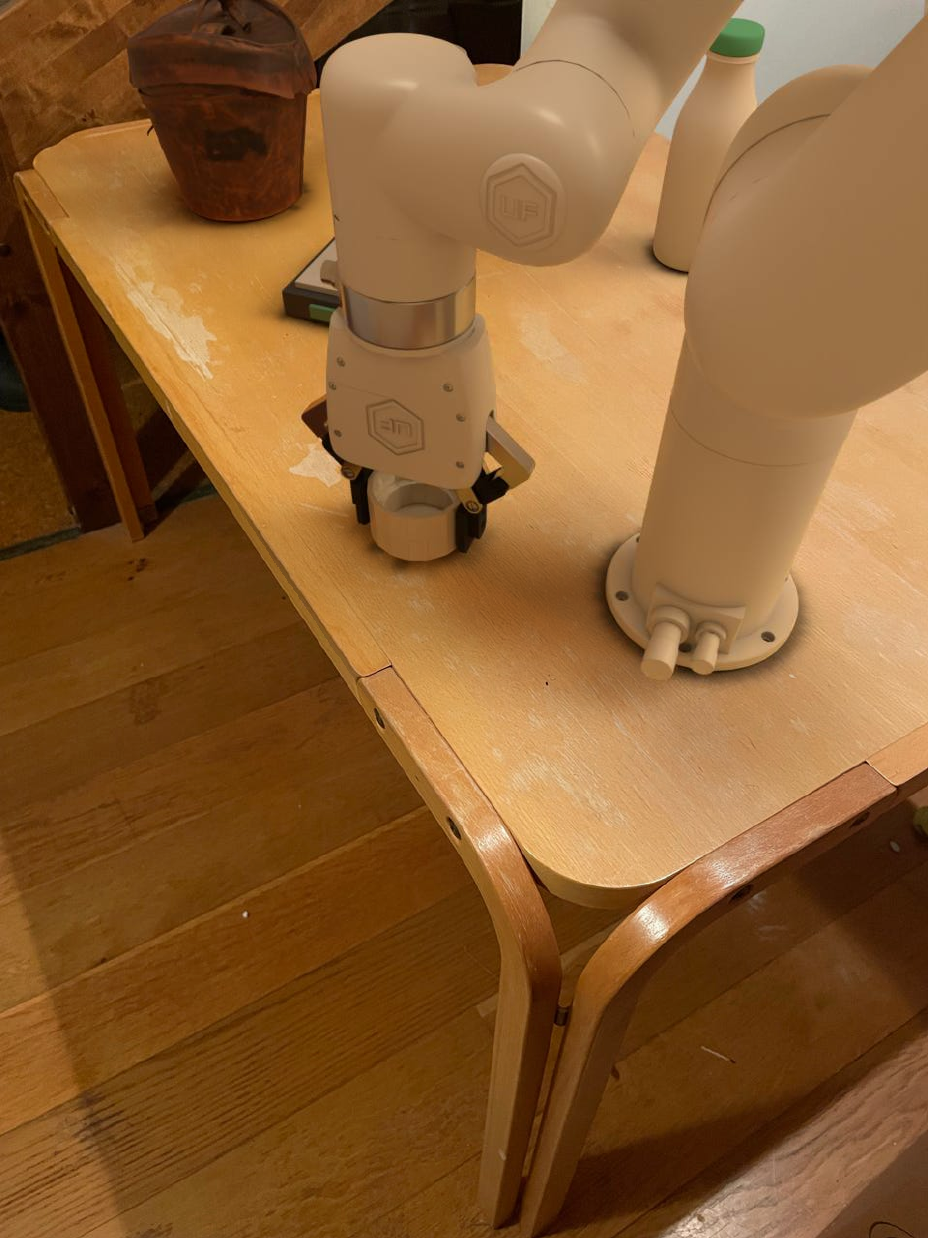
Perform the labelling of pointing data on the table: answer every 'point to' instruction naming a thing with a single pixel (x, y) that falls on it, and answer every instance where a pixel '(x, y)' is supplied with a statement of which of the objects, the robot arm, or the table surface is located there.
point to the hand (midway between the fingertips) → (419, 524)
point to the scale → (312, 290)
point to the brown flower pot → (227, 103)
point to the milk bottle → (706, 139)
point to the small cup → (412, 517)
